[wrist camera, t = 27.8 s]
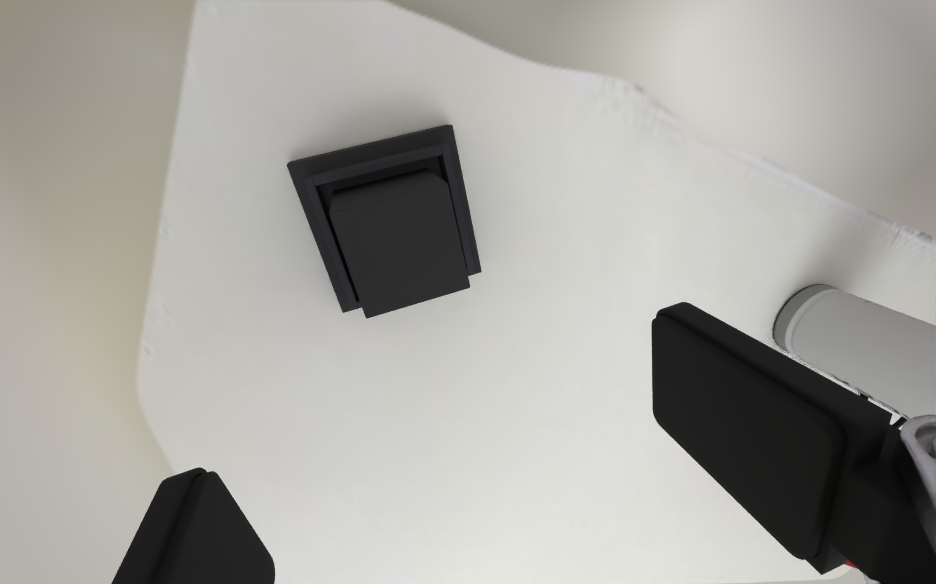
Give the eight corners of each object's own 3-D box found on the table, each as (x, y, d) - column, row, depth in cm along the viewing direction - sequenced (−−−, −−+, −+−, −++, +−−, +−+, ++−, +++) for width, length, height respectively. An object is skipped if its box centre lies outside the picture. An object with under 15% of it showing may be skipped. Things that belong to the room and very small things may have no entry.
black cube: (362, 279, 24) (366, 319, 19) (332, 191, 21) (328, 213, 17) (447, 254, 24) (470, 288, 20) (427, 167, 22) (447, 182, 18)
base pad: (343, 305, 25) (342, 325, 23) (288, 161, 21) (282, 168, 19) (477, 266, 26) (489, 281, 24) (448, 124, 22) (459, 126, 20)
